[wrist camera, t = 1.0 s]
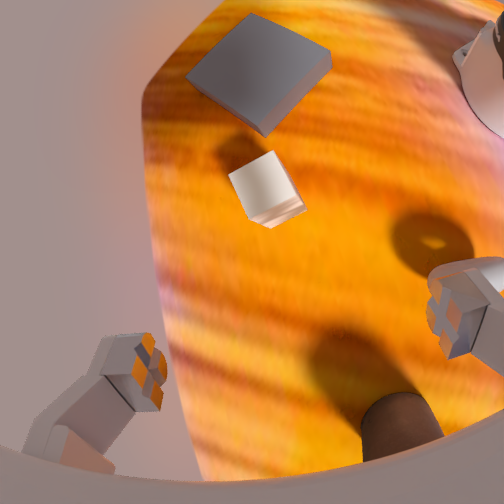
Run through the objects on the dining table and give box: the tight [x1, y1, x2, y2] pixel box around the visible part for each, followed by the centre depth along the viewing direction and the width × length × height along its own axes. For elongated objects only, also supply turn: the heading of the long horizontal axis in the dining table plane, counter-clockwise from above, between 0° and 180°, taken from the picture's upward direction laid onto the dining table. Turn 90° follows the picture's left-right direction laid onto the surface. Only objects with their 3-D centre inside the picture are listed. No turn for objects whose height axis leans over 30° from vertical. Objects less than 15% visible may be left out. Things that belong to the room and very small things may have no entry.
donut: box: [427, 257, 504, 292], centre depth 27 cm, size 10×3×10 cm, turn 99°
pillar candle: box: [361, 392, 444, 462], centre depth 26 cm, size 10×10×15 cm
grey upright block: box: [229, 150, 307, 228], centre depth 34 cm, size 5×5×9 cm
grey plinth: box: [185, 13, 332, 138], centre depth 37 cm, size 14×14×4 cm
